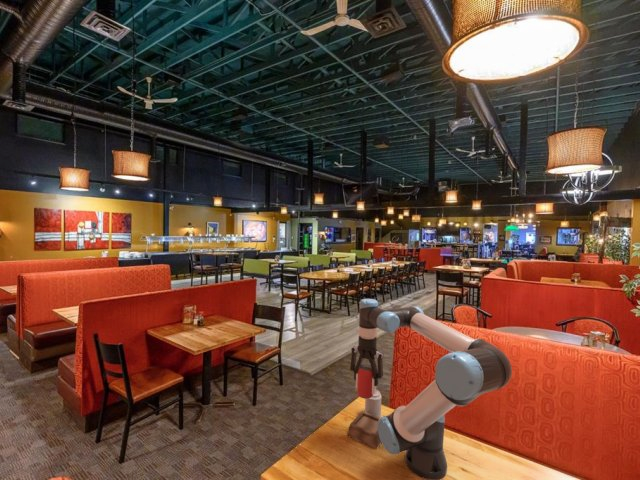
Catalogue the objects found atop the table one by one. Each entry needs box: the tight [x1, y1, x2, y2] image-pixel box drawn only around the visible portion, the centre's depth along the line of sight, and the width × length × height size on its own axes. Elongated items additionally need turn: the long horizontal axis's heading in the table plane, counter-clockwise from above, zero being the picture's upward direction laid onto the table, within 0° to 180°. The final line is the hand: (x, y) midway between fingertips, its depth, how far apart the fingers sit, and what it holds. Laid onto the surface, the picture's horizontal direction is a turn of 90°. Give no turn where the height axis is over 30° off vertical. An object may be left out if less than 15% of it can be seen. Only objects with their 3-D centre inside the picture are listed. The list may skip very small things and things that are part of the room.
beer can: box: [356, 363, 374, 399], centre depth 133 cm, size 7×7×12 cm
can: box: [364, 389, 382, 418], centre depth 150 cm, size 8×8×12 cm
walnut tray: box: [348, 410, 382, 450], centre depth 137 cm, size 13×13×5 cm
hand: (365, 390), depth 134 cm, fingers closed on beer can, 6 cm apart
